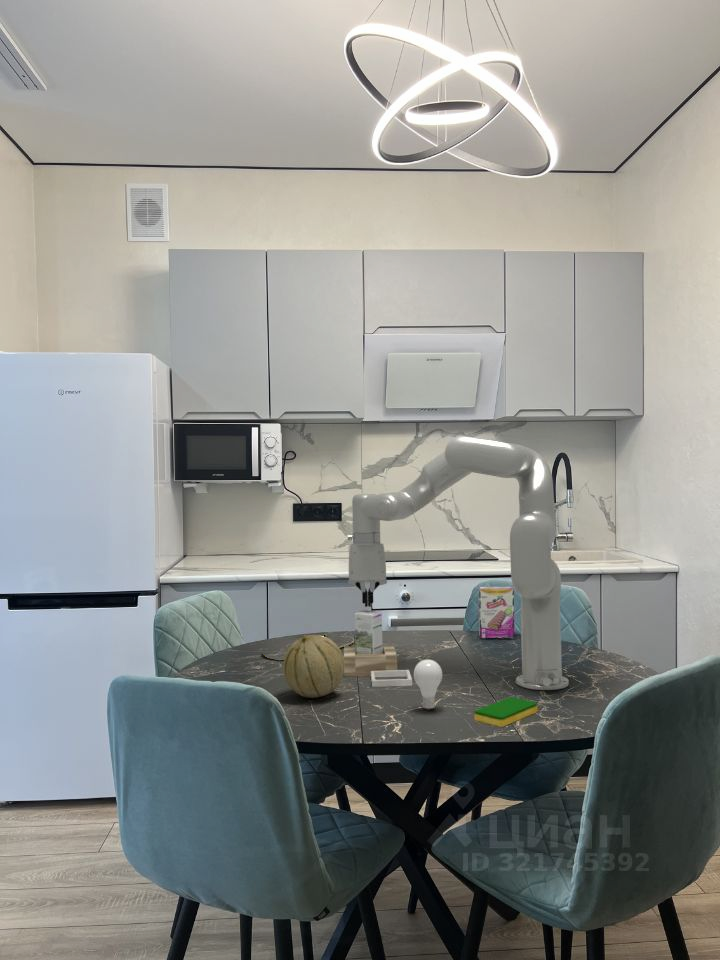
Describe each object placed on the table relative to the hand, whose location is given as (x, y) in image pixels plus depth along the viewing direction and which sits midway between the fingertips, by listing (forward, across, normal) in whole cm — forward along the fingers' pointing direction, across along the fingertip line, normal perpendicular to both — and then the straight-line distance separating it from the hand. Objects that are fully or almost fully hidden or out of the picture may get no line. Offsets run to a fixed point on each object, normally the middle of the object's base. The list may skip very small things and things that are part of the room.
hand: (367, 605), depth 203 cm
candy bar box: (+17, +42, +36) cm, 58 cm away
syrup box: (+16, 0, 0) cm, 16 cm away
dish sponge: (+18, +28, -44) cm, 55 cm away
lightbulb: (+17, +12, -38) cm, 44 cm away
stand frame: (+17, +5, -13) cm, 22 cm away
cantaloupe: (+18, -14, -25) cm, 34 cm away
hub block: (+17, 0, 0) cm, 17 cm away
